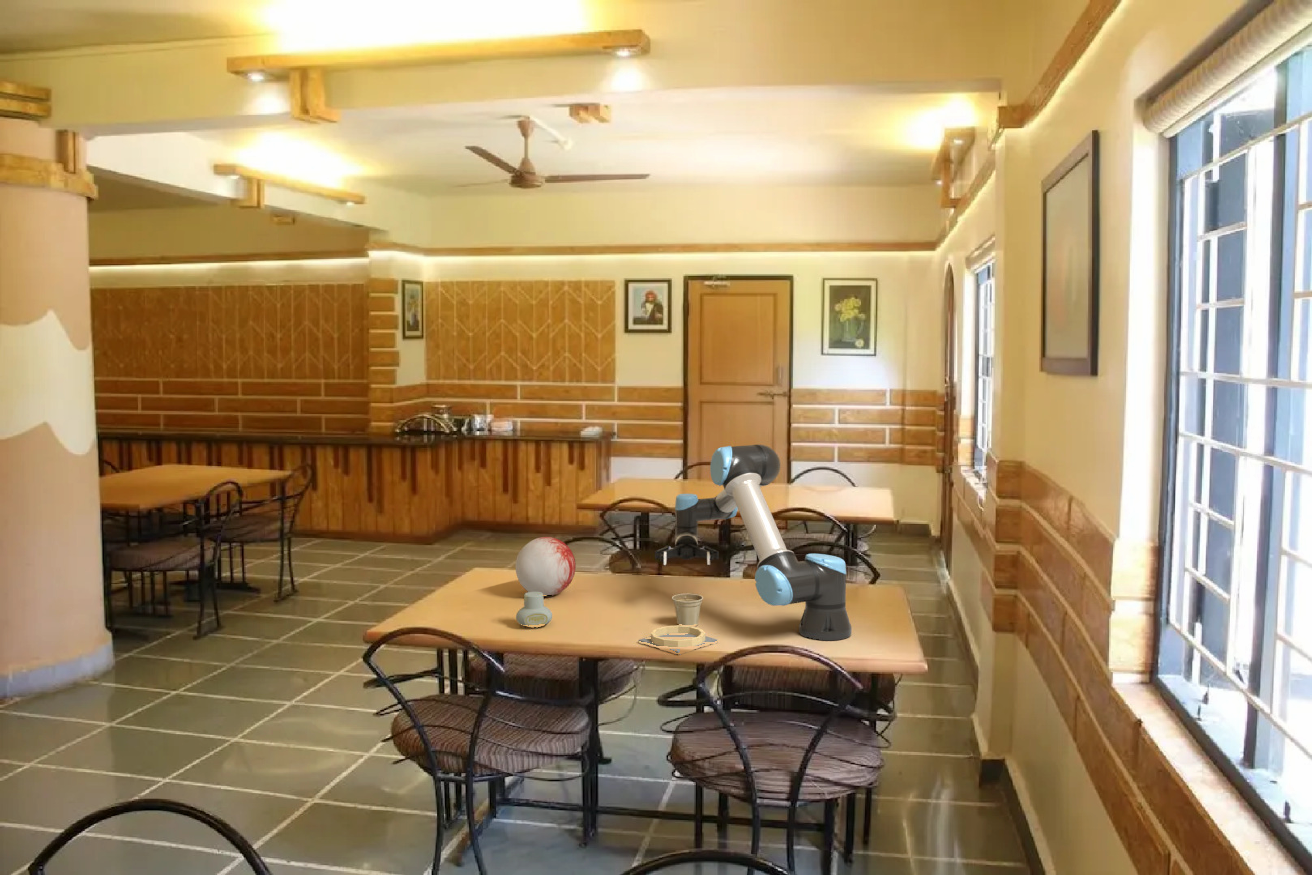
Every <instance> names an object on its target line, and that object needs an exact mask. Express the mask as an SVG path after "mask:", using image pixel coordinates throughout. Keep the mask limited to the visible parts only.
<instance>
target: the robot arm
mask: <svg viewBox="0 0 1312 875" xmlns="http://www.w3.org/2000/svg"><path fill="white" fill-rule="evenodd" d="M709 467H710V468H709V470H710V471H709V473H710V477H711V480H712V482H713V483H714V485H716V486H718V487H720V486H723V489H722V490H721V491H720V492H719V493H718V494H717V495H715V497H709V498H707V497H706V498H699V497H698V495H697V494H694V493H680V494H677V496H676V497H675V504H674V510H675V513H674V514H675V527H674V528H675V537H674V538H675V539H674V540H675V543H674V545H675V546H674V547H671V546H670V545H669V544H667V545H665V546H664V547H662V548H659V549H657V550H655V551H654V559H655V560H659V559H660V562H661V563H663V565H664V566H666V565H667V560H668V559H670V558H671V559H672V558H680V559H682V560H691V559H693V558H703V559H706V563H707V566H708V565H709V566H710V565H711V561H714V560H719V555H720V554H719V550H716V549H714V548H712V547H709V546H708V545H703V546H702V547H700V546H699V542H698V540H699V535H698V533H699V532H698V529H699V527H698V524H699V522H703V521H714V520H728V519H732V518H735V517H736V515H737V513H738V512H739V514H740V517H741V519H742V522H743V523H744V526H745V529H746V531H747V533H748V536H749V539H750V541H751V543H752V545H753V548H754V550H755V554H756V555H757V558H758V560H759V561H758V563H757V566H756V569H757V570H756V571H755V574H754V580H755V582H756V583H755V587H756V591H757V593H758V595H759V596H760V598H761V600H762V601H764V602H765V603H766V604H768V605H771V606H774V607H775V606H777V607H778V606H782V607H783V606H788V605H792V604H801V603H804V604H805V606H804V607H805V608H804V610H803V613H802V616H801V619H800V622H799V628H798V629H799V630H798V631H799V634H800V635H801V636H802V637H805V638H807V637H809V638H808V639H811V638H813V639H812V640H816V639H819V640H818V641H839V640H844V639H847V638H849V637H851V636H852V625H851V622H850V618H849V615H848V611H847V608H846V603H847V602H846V601H847V599H846V596H847V595H846V594H847V592H846V590H847V589H846V588H847V583H846V582H847V581H846V580H847V569H846V568H847V567H846V566H847V565H846V562H845V560H844V559H842V558H841V557H838V556H835V555H830V554H824V553H808V554H805V558H804V560H802V561H801V560H800V561H798V559H797V557H796V553H795V552H794V551H792V550H789V549H787V547H786V544H785V542H784V539H783V538H782V535H781V533H780V531H779V528H778V527H777V523H776V521H775V519H774V517H773V514H772V512H771V509H770V507H769V506H768V503H767V501H766V499H765V496H764V494H763V492H762V489H761V487H766V486H769V485H770V484H771V483H773V482H774V481H775V480H776V478H777V477H778V475H779V473H780V471H781V461H780V457H779V455H778V454H777V452H776V451H775V450H774V449H773V448H771V447H769V446H768V445H764V444H748V445H738V446H737V445H736V446H735V445H734V446H731V445H727V446H721V447H719V448H716V449H715V451H714V452H713V454H712V455H711V459H710V465H709Z"/></svg>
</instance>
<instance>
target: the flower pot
mask: <svg viewBox="0 0 1312 875" xmlns="http://www.w3.org/2000/svg"><path fill="white" fill-rule="evenodd" d="M671 600H672V602H673V604H674V609H675V615H676V616H675V618H676V624H677V623H678V624H682V625H694V624H698V625H699V618H700V612H701V611H700V610H701V605H702V603H703V602H702V600H704V596H702V595H700V594H696V593H680V594H679V593H678V594H675V595H672V597H671Z"/></svg>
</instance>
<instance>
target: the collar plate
mask: <svg viewBox="0 0 1312 875" xmlns="http://www.w3.org/2000/svg"><path fill="white" fill-rule="evenodd" d="M670 633H688V634H685V635H669V634H670ZM664 634H667V635H664ZM649 637H651V639H645V638H646V637H644V638H640V639H638V642H639V641H641V642H647V643H650V644H653V645H656V646H668V647H687V646H699V645H702V644H705V643H703V642H715V641H717V640H718V639H717V638H714V637H709V636H706V632H705V631H704V630H703V629H702V628H699V627H697V626H696V627H692V626H681V625H666V626H662V627H661V626H660V627H658V628H654V629H653V630H652V631H651V632H650V636H649ZM661 637H694V638H691V639H681V640H674V639H665V638H661ZM652 642H653V643H652ZM670 650H673V651H675V649H670ZM676 650H677V651H675V652H676V653H679V652H680V649H676Z"/></svg>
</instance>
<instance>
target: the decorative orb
mask: <svg viewBox="0 0 1312 875" xmlns="http://www.w3.org/2000/svg"><path fill="white" fill-rule="evenodd" d="M576 565H577V564H576V559H575V555H574V553H573V551H572V549H571V548H570V547H569V546H568V545H567V544H566V543H565V542H564V541H562V540H560V539H559V538H555V537H552V536H542V537H537V538H535V539H532V540H530V541H529V542H528V543H526V544H525V545H524V546H523V547H522V548H521V549H520V550H519V553H517V556H516V560H515V574H516V577H517V580H518V582H519V583H520V585H521V586H522V588H523V589H524V590H526V591H527V592H542V593H543V595H552V596H555V595H554V594H556V595H558V594H560V593H562V592H563V591H566V590H565V589H567V588H568V587H569V585H570V584H571V582H572V581H573V579H574V577H575V574H576V567H577V566H576Z"/></svg>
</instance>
